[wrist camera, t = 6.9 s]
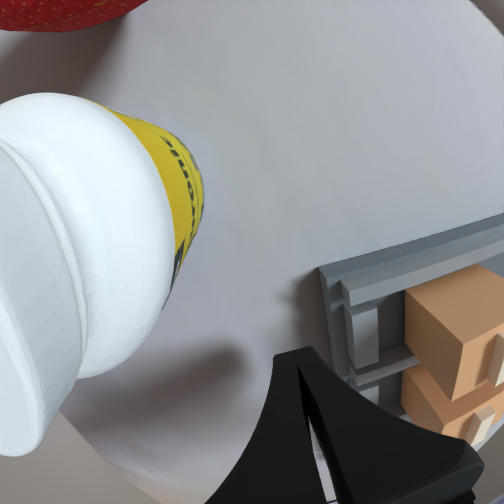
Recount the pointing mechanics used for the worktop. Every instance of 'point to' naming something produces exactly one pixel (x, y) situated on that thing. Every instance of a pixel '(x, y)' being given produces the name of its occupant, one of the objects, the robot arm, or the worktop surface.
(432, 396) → the tan box with strip
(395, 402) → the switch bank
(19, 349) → the supplement bottle
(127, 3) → the strawberry
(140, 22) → the worktop surface
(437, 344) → the orange box
